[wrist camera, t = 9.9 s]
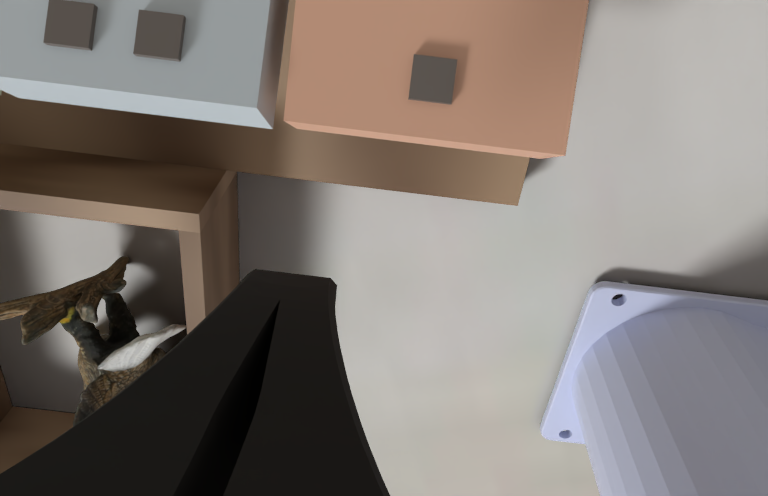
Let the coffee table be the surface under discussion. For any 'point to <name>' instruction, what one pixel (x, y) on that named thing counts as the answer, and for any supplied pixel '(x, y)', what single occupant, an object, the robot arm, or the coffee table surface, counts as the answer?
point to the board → (198, 190)
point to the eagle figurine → (93, 333)
